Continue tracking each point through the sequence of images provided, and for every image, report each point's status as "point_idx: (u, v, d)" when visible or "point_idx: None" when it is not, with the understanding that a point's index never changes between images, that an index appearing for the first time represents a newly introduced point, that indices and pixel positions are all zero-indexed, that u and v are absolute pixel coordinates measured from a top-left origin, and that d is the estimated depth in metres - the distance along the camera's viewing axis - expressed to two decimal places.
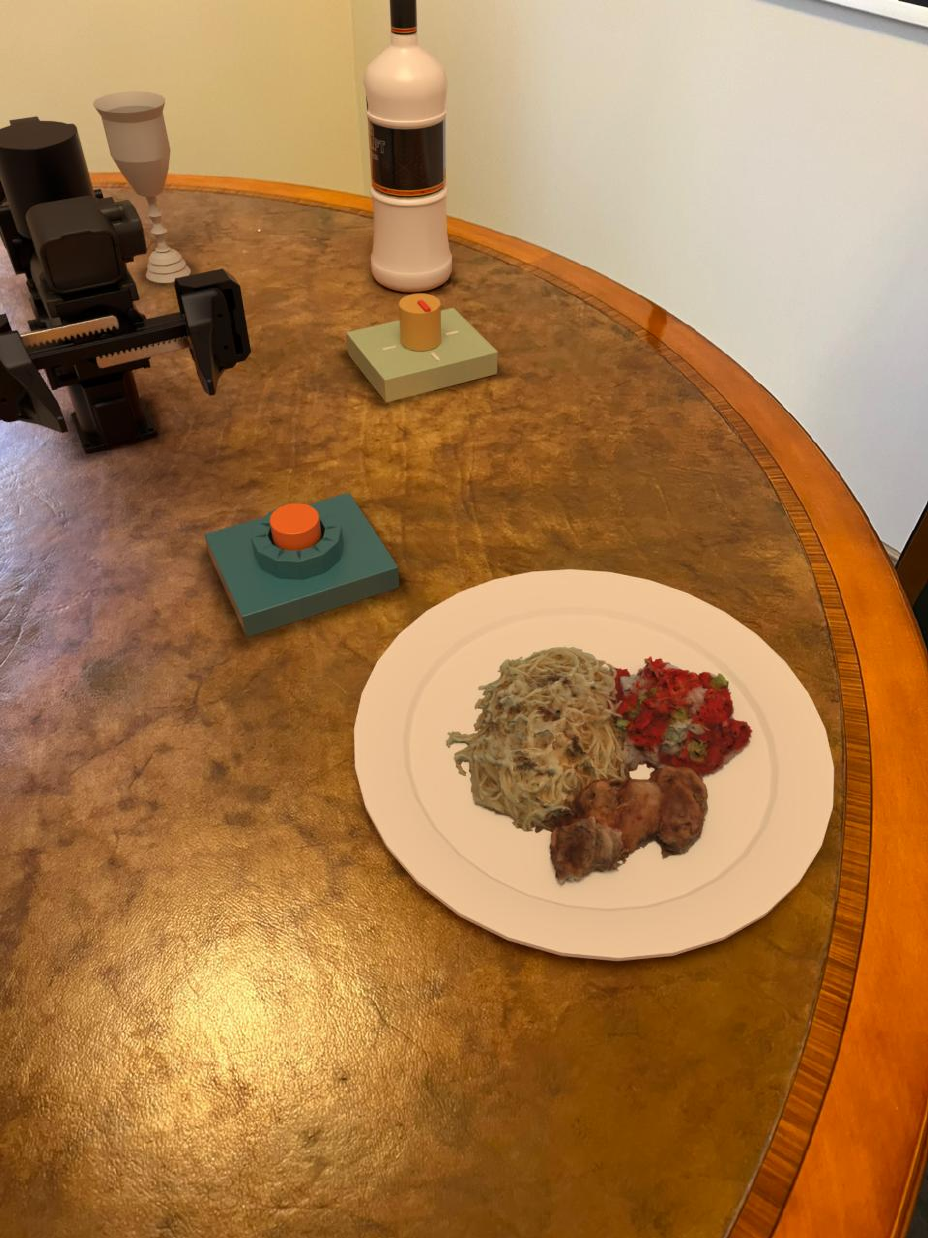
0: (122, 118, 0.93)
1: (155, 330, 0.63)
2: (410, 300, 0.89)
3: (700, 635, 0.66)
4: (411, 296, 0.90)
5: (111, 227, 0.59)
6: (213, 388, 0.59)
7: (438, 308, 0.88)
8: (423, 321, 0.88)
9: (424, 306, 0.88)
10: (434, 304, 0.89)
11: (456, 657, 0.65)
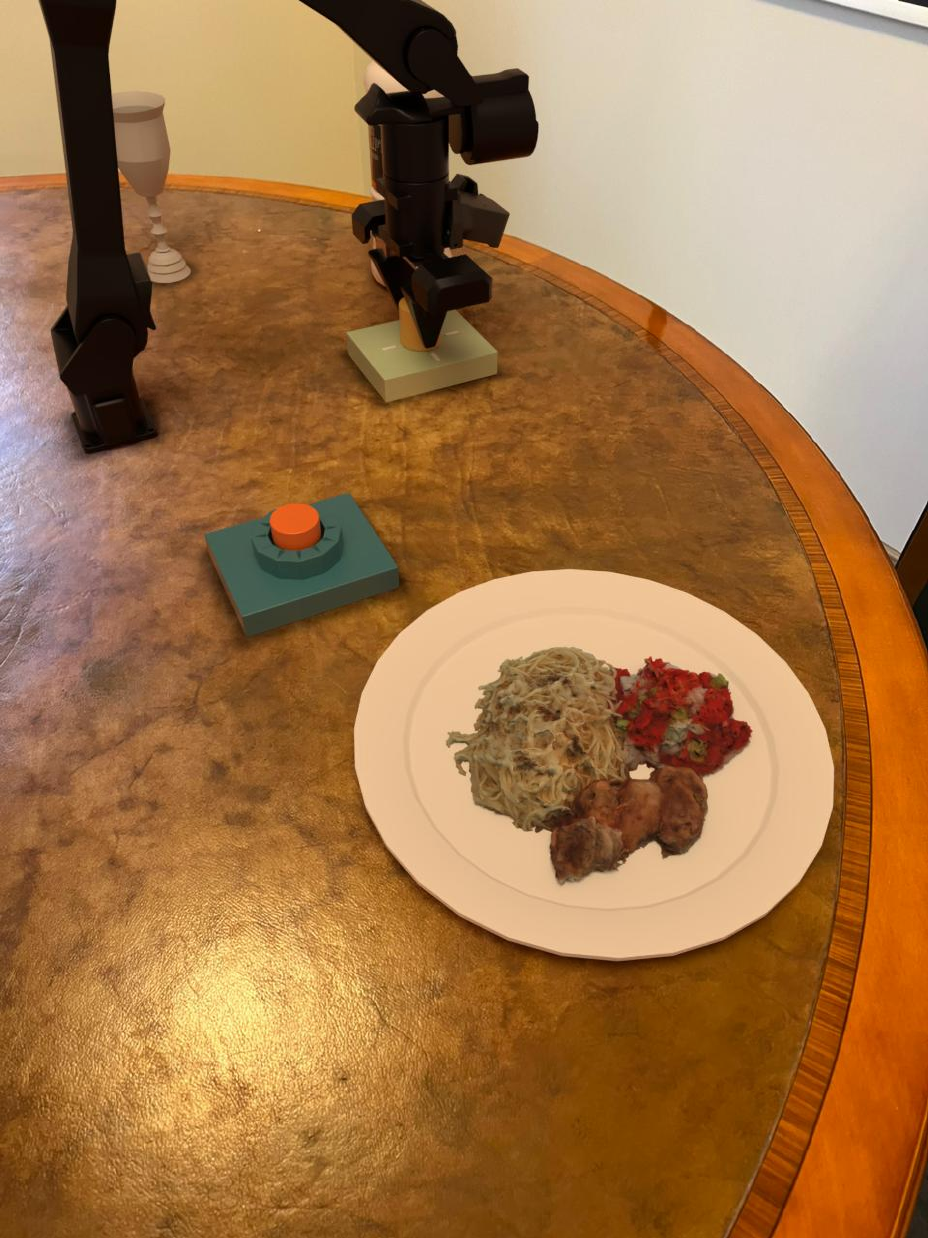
0: (122, 118, 0.93)
1: None
2: None
3: (700, 635, 0.66)
4: None
5: None
6: None
7: None
8: None
9: None
10: None
11: (456, 657, 0.65)
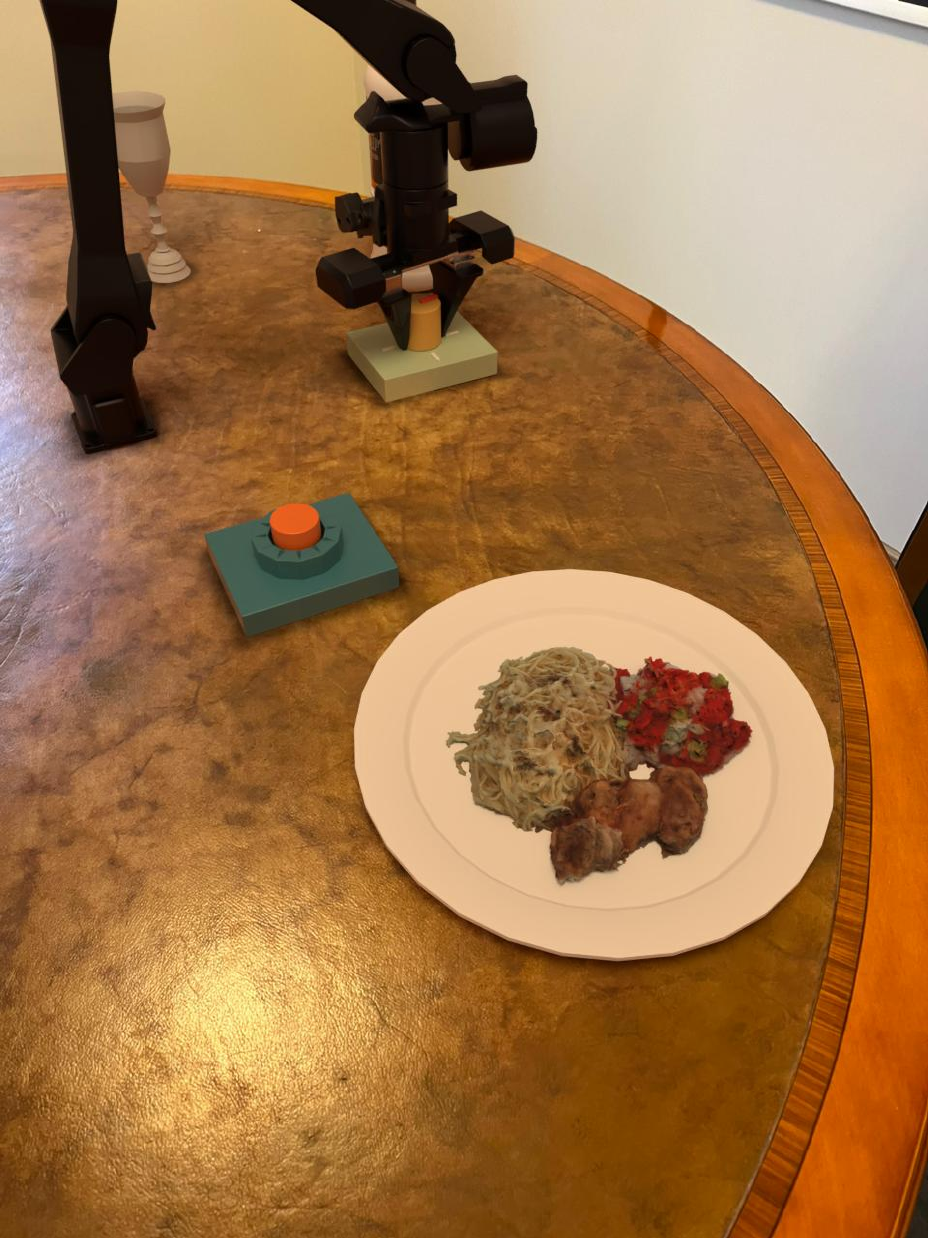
0: (123, 118, 0.93)
1: None
2: (416, 307, 0.88)
3: (700, 635, 0.66)
4: None
5: (356, 231, 0.89)
6: (401, 348, 0.91)
7: None
8: None
9: (432, 296, 0.89)
10: (420, 295, 0.90)
11: (456, 657, 0.65)
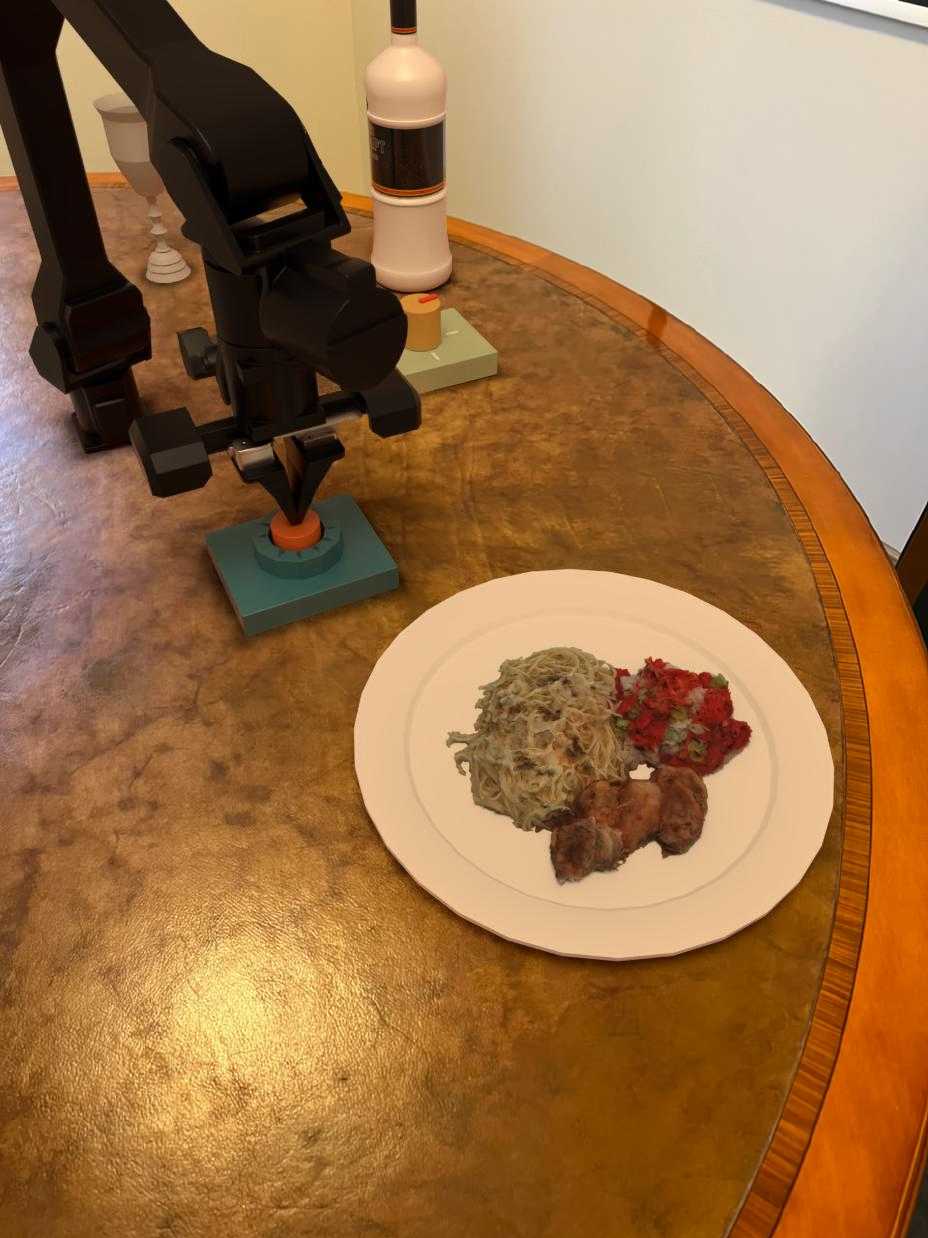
0: (123, 118, 0.93)
1: None
2: (416, 307, 0.88)
3: (700, 635, 0.66)
4: (407, 308, 0.88)
5: None
6: None
7: None
8: None
9: (432, 296, 0.89)
10: (420, 295, 0.90)
11: (456, 657, 0.65)
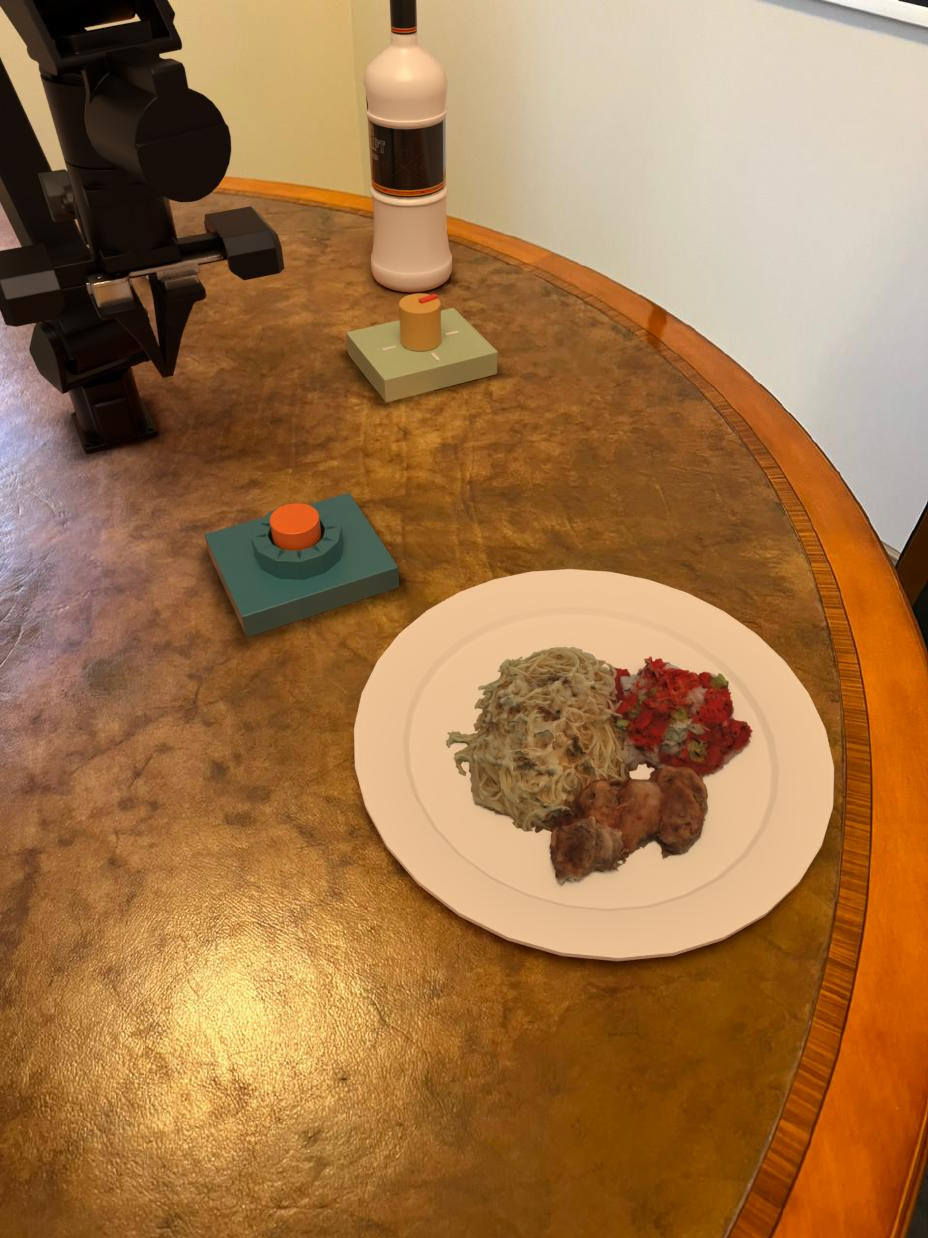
0: None
1: None
2: (416, 307, 0.88)
3: (700, 635, 0.66)
4: (407, 308, 0.88)
5: None
6: None
7: None
8: None
9: (432, 296, 0.89)
10: (420, 295, 0.90)
11: (456, 657, 0.65)
